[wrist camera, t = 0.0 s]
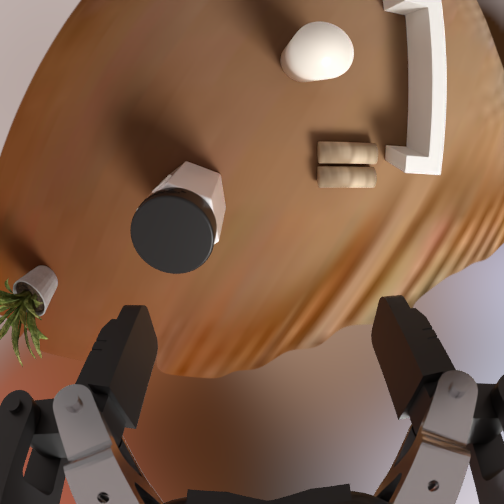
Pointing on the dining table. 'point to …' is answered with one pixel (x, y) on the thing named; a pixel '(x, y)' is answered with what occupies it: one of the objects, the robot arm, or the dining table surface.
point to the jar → (180, 220)
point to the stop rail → (422, 87)
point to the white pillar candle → (317, 53)
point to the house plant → (27, 304)
